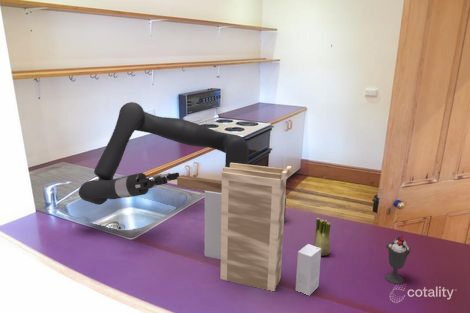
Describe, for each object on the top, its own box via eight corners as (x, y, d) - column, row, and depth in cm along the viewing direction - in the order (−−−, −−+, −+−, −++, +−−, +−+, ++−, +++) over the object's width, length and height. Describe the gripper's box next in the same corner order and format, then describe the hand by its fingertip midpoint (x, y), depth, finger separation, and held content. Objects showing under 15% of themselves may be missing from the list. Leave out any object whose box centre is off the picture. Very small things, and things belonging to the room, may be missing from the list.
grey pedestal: (211, 249, 119) (211, 186, 114) (233, 253, 116) (234, 190, 111) (204, 256, 115) (204, 191, 110) (227, 261, 112) (228, 195, 107)
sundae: (395, 287, 100) (402, 239, 96) (377, 275, 106) (383, 229, 102) (412, 282, 102) (419, 235, 99) (393, 271, 108) (399, 225, 105)
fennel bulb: (311, 249, 121) (314, 216, 118) (325, 249, 121) (328, 216, 118) (317, 258, 115) (320, 223, 112) (331, 257, 115) (335, 223, 113)
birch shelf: (229, 267, 108) (231, 159, 101) (284, 279, 102) (291, 166, 95) (220, 278, 102) (221, 165, 94) (278, 293, 96) (285, 172, 88)
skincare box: (305, 281, 102) (308, 243, 99) (318, 287, 99) (322, 248, 97) (294, 290, 97) (297, 251, 95) (308, 297, 95) (311, 256, 92)
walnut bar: (181, 183, 117) (181, 175, 116) (257, 194, 108) (257, 185, 107) (177, 186, 114) (177, 177, 113) (253, 197, 105) (254, 188, 104)
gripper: (116, 178, 115) (159, 169, 110) (141, 171, 128) (180, 163, 123) (122, 201, 115) (164, 193, 110) (145, 191, 129) (185, 184, 123)
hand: (173, 177), depth 117 cm, fingers open, 8 cm apart
